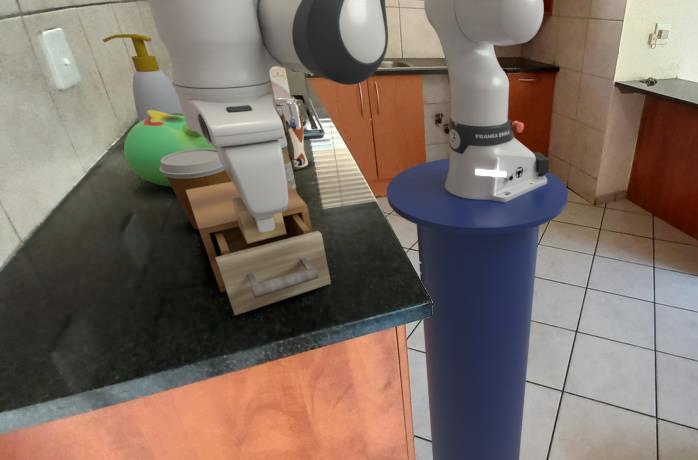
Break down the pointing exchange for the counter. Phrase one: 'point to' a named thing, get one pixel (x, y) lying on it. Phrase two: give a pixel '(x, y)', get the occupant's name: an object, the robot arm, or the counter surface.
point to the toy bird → (159, 144)
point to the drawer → (271, 265)
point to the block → (249, 224)
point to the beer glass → (293, 131)
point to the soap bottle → (150, 81)
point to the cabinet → (228, 215)
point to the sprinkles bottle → (287, 164)
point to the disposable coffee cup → (192, 173)
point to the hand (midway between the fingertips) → (260, 220)
